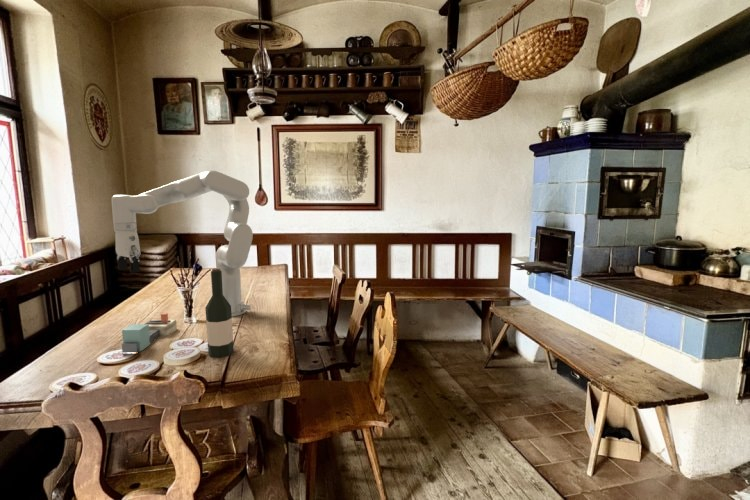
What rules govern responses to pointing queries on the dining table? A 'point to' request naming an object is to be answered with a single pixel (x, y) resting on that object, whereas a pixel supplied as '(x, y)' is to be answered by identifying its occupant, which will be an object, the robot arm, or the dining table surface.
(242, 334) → the dining table surface
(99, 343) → the dining table surface
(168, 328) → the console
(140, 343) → the carriage
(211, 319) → the wine bottle
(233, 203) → the robot arm
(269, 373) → the dining table surface
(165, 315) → the orange clay brick
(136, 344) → the rail
